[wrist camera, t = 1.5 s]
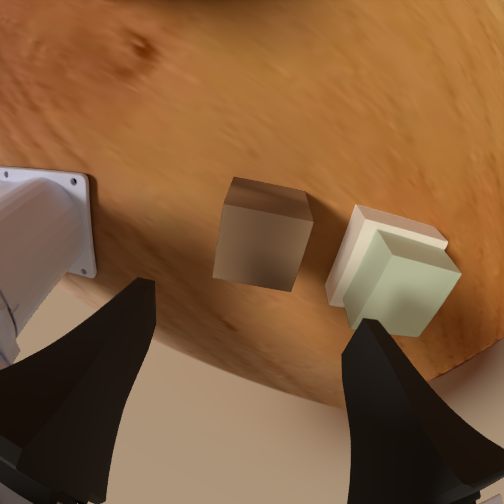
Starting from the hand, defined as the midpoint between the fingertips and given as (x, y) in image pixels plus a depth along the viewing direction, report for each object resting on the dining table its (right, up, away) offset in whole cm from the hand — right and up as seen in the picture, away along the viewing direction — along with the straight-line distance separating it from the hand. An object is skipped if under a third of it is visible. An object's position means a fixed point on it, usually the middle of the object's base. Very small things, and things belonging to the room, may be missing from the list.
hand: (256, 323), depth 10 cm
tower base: (+8, +2, +9) cm, 12 cm away
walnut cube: (0, +4, +7) cm, 9 cm away
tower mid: (+8, +1, +6) cm, 11 cm away
